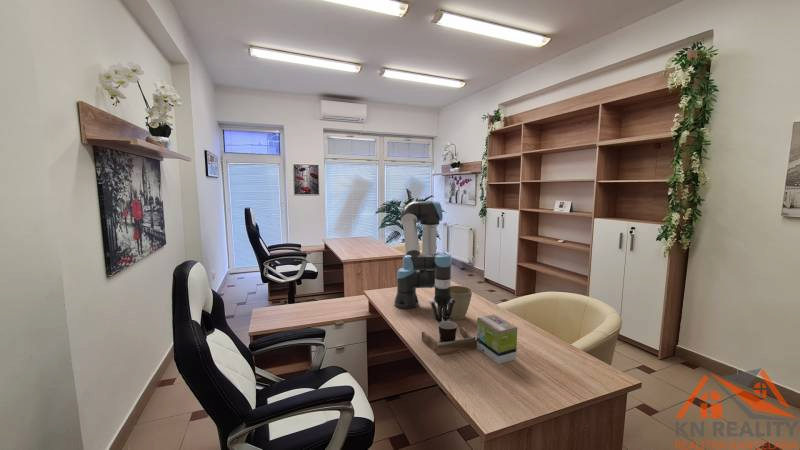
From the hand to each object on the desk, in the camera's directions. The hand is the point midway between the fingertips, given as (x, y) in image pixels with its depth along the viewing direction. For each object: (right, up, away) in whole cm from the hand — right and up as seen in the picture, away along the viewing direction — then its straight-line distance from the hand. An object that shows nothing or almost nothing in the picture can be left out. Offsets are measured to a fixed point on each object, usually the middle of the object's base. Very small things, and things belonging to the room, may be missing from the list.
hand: (442, 333), depth 155 cm
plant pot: (+12, +1, +24) cm, 27 cm away
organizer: (+2, -2, -7) cm, 8 cm away
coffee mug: (+2, -3, -8) cm, 8 cm away
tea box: (+21, -4, -16) cm, 27 cm away
